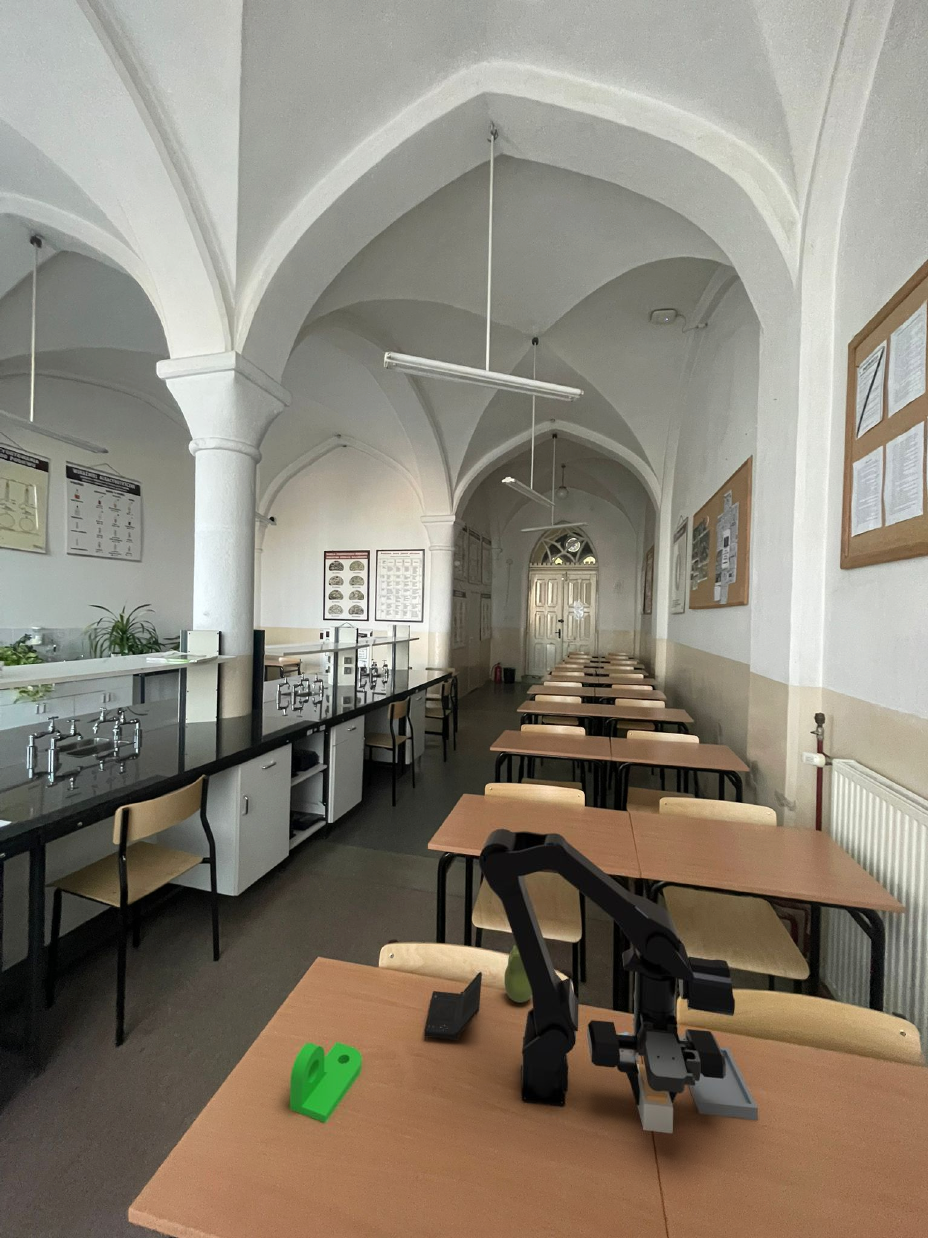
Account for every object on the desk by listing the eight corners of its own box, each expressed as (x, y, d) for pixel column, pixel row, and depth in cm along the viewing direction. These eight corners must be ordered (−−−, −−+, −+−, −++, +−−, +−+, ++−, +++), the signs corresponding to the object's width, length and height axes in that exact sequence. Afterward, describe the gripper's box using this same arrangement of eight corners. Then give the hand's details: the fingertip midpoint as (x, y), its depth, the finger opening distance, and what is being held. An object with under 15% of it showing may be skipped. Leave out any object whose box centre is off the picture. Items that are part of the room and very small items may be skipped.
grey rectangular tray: (699, 1114, 80) (699, 1102, 80) (677, 1053, 91) (677, 1043, 91) (757, 1120, 80) (757, 1108, 80) (727, 1058, 91) (728, 1048, 91)
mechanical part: (325, 1130, 77) (326, 1073, 77) (289, 1116, 79) (291, 1061, 79) (368, 1065, 88) (369, 1015, 88) (336, 1054, 90) (337, 1005, 90)
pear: (529, 988, 107) (530, 937, 107) (536, 1008, 101) (538, 954, 101) (501, 990, 106) (502, 939, 106) (507, 1010, 101) (508, 956, 101)
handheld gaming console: (421, 987, 103) (456, 948, 103) (450, 1008, 104) (485, 970, 104) (421, 1040, 92) (459, 997, 91) (453, 1064, 93) (491, 1021, 92)
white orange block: (643, 1132, 77) (644, 1099, 77) (633, 1089, 84) (634, 1060, 84) (672, 1135, 77) (673, 1103, 77) (660, 1092, 84) (660, 1063, 84)
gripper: (598, 1034, 73) (595, 1150, 73) (743, 1048, 72) (740, 1167, 72) (588, 980, 84) (585, 1080, 85) (712, 991, 83) (710, 1093, 83)
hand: (652, 1104), depth 81 cm, fingers closed on white orange block, 4 cm apart
